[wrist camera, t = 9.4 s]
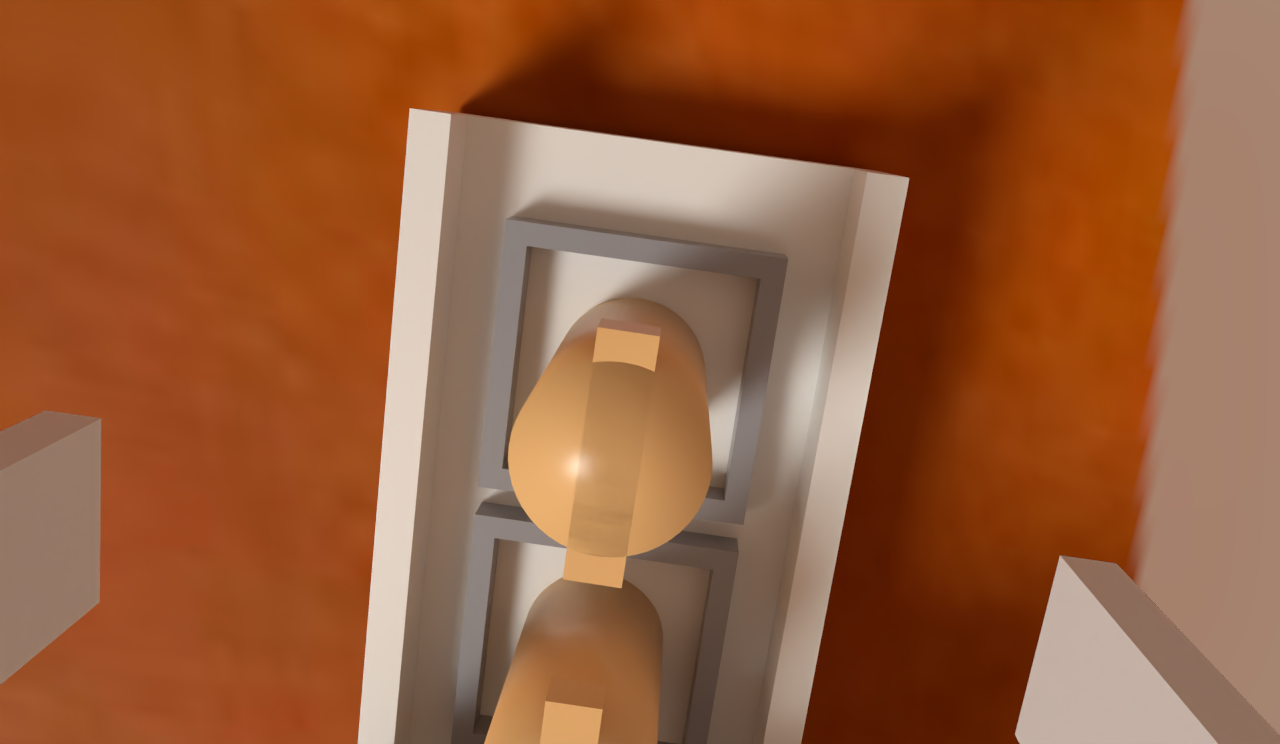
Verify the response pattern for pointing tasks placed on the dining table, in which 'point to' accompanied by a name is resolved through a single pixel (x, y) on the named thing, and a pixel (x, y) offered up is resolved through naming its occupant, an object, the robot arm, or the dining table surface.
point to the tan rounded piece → (583, 669)
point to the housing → (520, 352)
